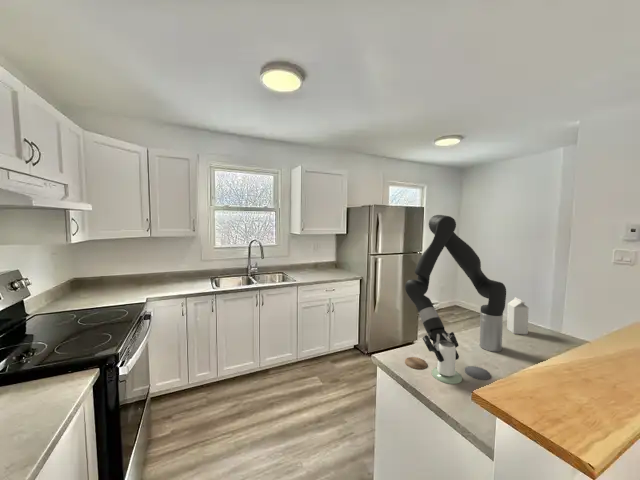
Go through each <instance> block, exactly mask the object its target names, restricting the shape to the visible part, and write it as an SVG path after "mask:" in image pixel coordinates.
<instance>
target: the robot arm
mask: <svg viewBox="0 0 640 480" xmlns="http://www.w3.org/2000/svg"><path fill="white" fill-rule="evenodd" d="M428 228H429V230H430V232H431V233H432V234H433V239H432V241H431V243H430V244H429V246H428V247H427V248H426V250H425V251H424V252H423V253H422V254H421V255H420V258H419V259H418V262H417V264H416V267H415V269H414V273H415V274H416V276H417V279H408V280H407V281H406V282H405V283H404V284H405V285H404V290H405V293H406V294H407V296H408V297H409V299H410V301H412V303H413V304H414V305H415V307H416V309H417V312H418V314H419V318H420V321H421V322H422V324H423V327H424V329H425V332H426V334H425V335H424V336H422V341H423V342H424V345H425V346H426V348H427V349H428V351H429V352H433V353H434V354H435V357H436V358H437V359H436V360H437V361H438V360H439V361H440V362H442V361H444V359H443V357H442V355H441V353H440V351H439V347H438V346H439V342H440V341H441V342H444V341H443V340H445V341H450V342H452V343H454V344H455V348H456V349H457V347H459V343H458V339H457V338H456V336H455V332H453V331H451V332H447V331H446V330H445V325H444V323H443V321H442V320H441V317H440V316H439V314H438V311H437V310H436V309H435V306H434V305H433V302H432V301H431V299H430V298H429V297H428V296H426V295H425V294H427V291H428V290H429V285H430V278H431V277H430V276H431V274H432V272H433V270H434V268H435V266H436V263H437V260H438V258H439V256H440V255H441V253H442V252H443V250H444V248H446V250H447V251H448V252H449V254H450V255H451V256H452V258H453V259H454V261H455V262H456V264H457V265H458V266H459V268H461V270H462V271H463V272H464V273H465V275H466V276H467V277H468V278H469V280H470V281H471V284H472V285H473V287H474V288H475V290H476V291H477V292H476V293H478V294H479V295H480V296H481V297H483V298H484V299H485V298H486V299H488V301H487V302H488V303H487V304H483V305H480V317H479V319H480V320H479V321H480V322H479V347H480V348H482V349H483V350H487V351H488V352H489V351H490V352H501V351H502V350H503V329H504V328H503V323H504V322H503V318H504V310H505V309H506V300H507V288H506V286H505V284H504V283H503V282H501V281H496V280H494V279H493V280H492V279H490V278H488V277H487V276H486V275H485V273H484V272H483V271H482V264H481V259H480V257H479V255H478V254H477V253H476V251H475V250H474V249H473V248H472V247H471V245H469V244H468V243H467V242H466V241H464V240H463V239H462V238H461V237H459V236H458V235H457V234H456V233H455V230H456V228H457V222H456V220H455V219H454V218H453V217H452V216H450V215H443V214H436V215H432V217H430V219H429V221H428ZM459 359H460V355H459V353H458V351H457V350H456V361H457V360H459Z"/></svg>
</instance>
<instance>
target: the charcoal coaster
mask: <svg viewBox="0 0 640 480" xmlns="http://www.w3.org/2000/svg"><path fill="white" fill-rule="evenodd" d="M464 372H465V374H466V375H467V376H469V377H471V378H473V379H475V380H476V379H477V380H483V381H485V380H486V381H487V380H489V379H490V378H491V373H490V372H489V371H488V370H487V369H484V368H482V367H480V366H476V365H475V366H474V365H469V366H466V367H464Z"/></svg>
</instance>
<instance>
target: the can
mask: <svg viewBox="0 0 640 480" xmlns="http://www.w3.org/2000/svg"><path fill="white" fill-rule="evenodd" d="M443 341H444V342H441V341H440V342H439V346H438V347H439V351H440V353H441V355H442V357H443V359H444V361H442V362H440V361H439V360H438V359H437V370H438V372H439V373H440V374H441V375H444V376H448V377H451V376H454V375H455V371H456V362H457V360H456V351H457V347H456V348H455V344H454V343H452V342H450V341H445V340H443Z"/></svg>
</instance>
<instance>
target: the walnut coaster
mask: <svg viewBox="0 0 640 480" xmlns="http://www.w3.org/2000/svg"><path fill="white" fill-rule="evenodd" d="M404 363H405V365H406V366H407V367H409V368H411V369H415V370H423V369H424V370H425V369H426V368H427V366H428V363H427V361H425V360H424V359H422V358H419V357H415V356H410V357H409V356H408V357H407V358H405V360H404Z"/></svg>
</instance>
